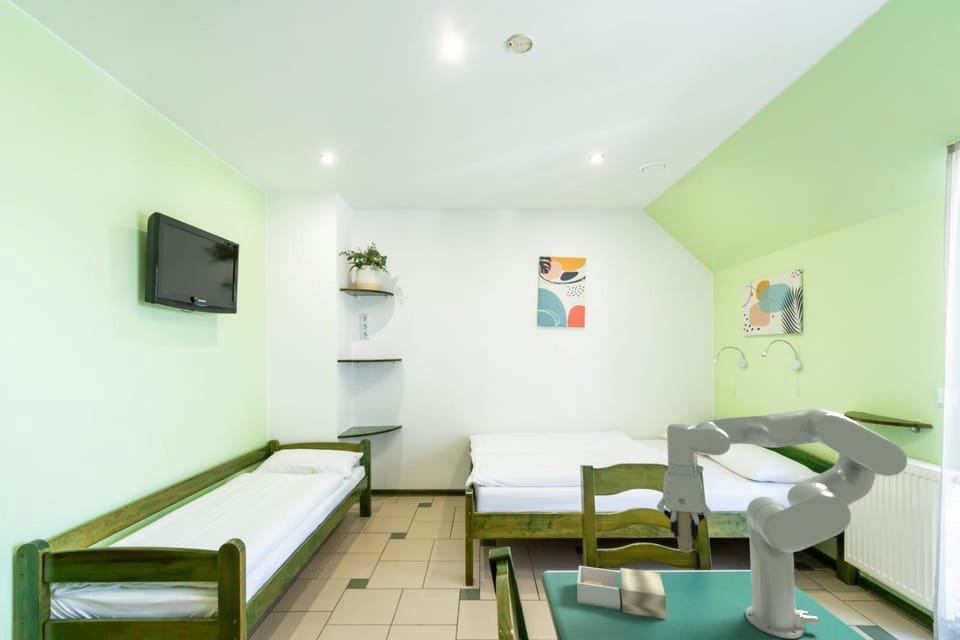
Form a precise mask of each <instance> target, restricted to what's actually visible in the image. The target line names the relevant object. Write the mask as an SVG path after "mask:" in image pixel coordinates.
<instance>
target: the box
mask: <svg viewBox="0 0 960 640" xmlns="http://www.w3.org/2000/svg"><path fill="white" fill-rule="evenodd" d="M617 572H618V571H617V570H612V569H606V568H598V567H591V566H583V565H579V566H578V571H577V581H576V597H577V598H576V600H577V601H576V603H577V604H582V605H589V606H595V607H600V608H601V607H602V608H606V609H613V610H620V611H621V591H620V584H618V573H617ZM584 580H586V581H594V582H601V583H602V586H601V585H594V584H587V583H584Z"/></svg>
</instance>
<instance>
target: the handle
mask: <svg viewBox="0 0 960 640" xmlns="http://www.w3.org/2000/svg"><path fill="white" fill-rule="evenodd" d="M684 501H685V500H684V499H683V498H679V503H681V504H686V503H684ZM691 518H692V517H691V513H688V512H678V511H677V513H676V518H675V519H676V522H677V537H676V539H677V545H678V550H679V551H680V553H685V554H689V553H692V551H693V547H692V546H693V537H692V526H691V520H692V519H691Z"/></svg>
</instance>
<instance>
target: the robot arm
mask: <svg viewBox="0 0 960 640" xmlns="http://www.w3.org/2000/svg"><path fill="white" fill-rule="evenodd" d="M666 432H667V433H666V436H667V437H666V438H667V471H665V472H664V475H663V476H664V477H663V486H662V489H663V490H662V498H661V499H660V501H658V503H657V504H656V508H657V510H659V511H660V512H661V513H662V514H664V516H665V517H667V518H668V520H669V521H670V531H671V533H672V534H673V536H674V538H677V522H676V513H677V511H678V512H688V513H690V515H691V518H692V519H691V526H692V540H697V536H699V525H700V523H701V522H702V521H704V520H705V518H708V517H709V516H711V515H712V514H713V512H712V510H711V509H710V508H709V506H708V505H707V504H706V502H705V497H704V488H703V482H702V478H701V475H700V474H699V473H700V472H704V467H703V465H702V466H701V465H699V464H698V453H699V454H700V453H701V454H705V455H711V456H721V455H725V454H726V453H727V452H728V451H729V450H730V448H731V445H738V444H739V445H740V444H742V445H743V444H744V445H745V444H746V445H752V446H753V445H754V446H759V447H764V448H772V449H773V448H776V449H777V448H781V447H790V446H797V445H804V444H805V445H806V444H813V443H814V444H815V443H820V444H822V445H825V446H826V447H828V448H830V449H832V450H833V451H835V452H837V453H839V454H838V458H837V461H836V463H835V464H834V465H833V466H832V467H830V468H829V469H827V470H825V471H823V472H821V473H820V474H817V475H815V476H813V477H810V478H809V479H806V480H804V481H802V482H798V483H797V484H795V485H794V486H792V487H791V488H790V489H789V490H788V492H787V501H788V503H789V507H786V506H784V504H782V503H781V502H780V501H778V500H776V499H774V498H771V497H767V496H760V497H756V498H754V499H752V500H751V501H750V502H749V504H748V505H747V508H746V523H747V530H748V536H749V537H748V538H749V551H750V554H749V555H750V557H749V558H750V581H751V582H750V583H751V584H750V585H751V605H750V606H748V607H746V608H745V617H746V619H747V620H748V621H749V623H750V624H751V625H752V626H754V627H755V628H757V630H760V631H762V632H764V633H766V634H769V635H771V636H774V637H777V638H783V639H790V640H791V639H798V638H801V637H802V636H803V635H805V634H804V633H805V628H804V627H805V626H804V625H805V624H808V625H813V626H819V625H820V622H819V621H820V620H819V618H818V617H817V616H815V615H810V614H809V612H808V611H807V610H799V609H797V608H796V589H795V562H794V561H795V560H794V553H795V552H800V551H802V550H805V549H808V548H810V547H813V546H814V545H817V544H820V543H823V542H824V541H827V540H829V539H831V538H834V537H836V536H838V535H839V534H841V533H843V532H844V531H845V530H846V529H847V528H848V526H849V525H850V523H851V519H852V514H851V513H852V512H851V509H850V507H849V505H852V504H854V503H856V502H857V501H860V500H862V499H863V498H864V497H865V496H867V495H868V494H869V493H870V491H871V490H872V488H873V485H874V482H875V479H876V475H879V476H883V477H884V476H885V477H892V476H896V475H899V474H901V473H902V472H903V471H904V470H905V469H906V468H907V464H908V459H907V454H906V453H905V450H903V449H902V448H901V446H899V445H898V444H897V443H895V442H893V441H892V440H890V439H888V438H887V437H884V436H882V435H881V434H879V433H877V432H874V431H873V430H871V429H868V428H867V427H866V426H864V425H861V424H859V423H858V422H856V421H854V420H852V419H851V418H849V417H847V416H844V415H842V414H841V413H838V412H833V411H830V410H827V409H823V408H808V409H801V410H794V411H786V412H780V413H772V414H765V415H763V414H762V415H752V416H751V415H749V416H740V417H737V416H736V417H725V418H720V419H712V420H705V421H701V422H699V423H697V424H696V425H695V426H694V425H691V424H687V423H685V424H684V423H672V424H671V423H670V424H669V425H668V426H667V430H666ZM679 498H683V499H684V500H685V501H684V503H686V504H681V503H679ZM664 506H665V507H664Z"/></svg>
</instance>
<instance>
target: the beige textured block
mask: <svg viewBox="0 0 960 640" xmlns="http://www.w3.org/2000/svg"><path fill="white" fill-rule="evenodd" d="M619 571H620V573H619V574H620V600H621V608H622V609H621V610H622V613H625V614H626V613H627V614H631V615H638V616H645V617H650V618H656V619H657V618H658V619H661V620H662V619H663V620H666V619H667V603H666V598H667V597H666V593H665V588H664V585H663V580H662V577H661V573H659V572H653V571H652V572H651V571H647V570H638V569H631V568H623V567H620V570H619Z"/></svg>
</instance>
